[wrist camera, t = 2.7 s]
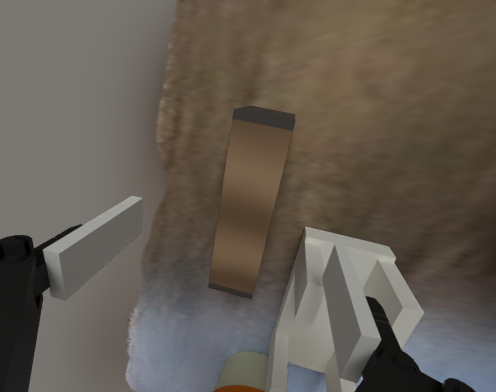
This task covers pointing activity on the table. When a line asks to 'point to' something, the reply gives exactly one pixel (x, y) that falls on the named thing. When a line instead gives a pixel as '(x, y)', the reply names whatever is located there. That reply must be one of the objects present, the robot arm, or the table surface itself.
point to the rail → (248, 196)
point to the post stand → (316, 313)
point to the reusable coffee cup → (243, 373)
